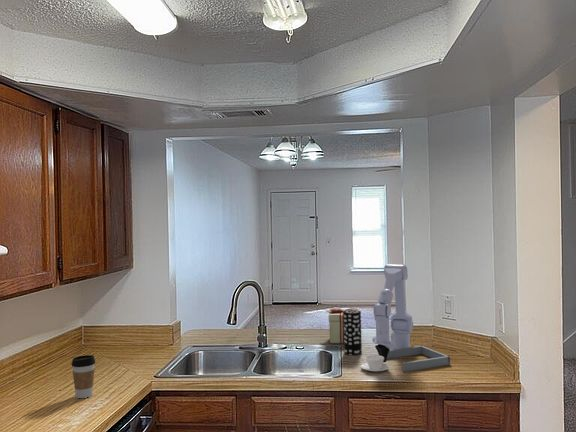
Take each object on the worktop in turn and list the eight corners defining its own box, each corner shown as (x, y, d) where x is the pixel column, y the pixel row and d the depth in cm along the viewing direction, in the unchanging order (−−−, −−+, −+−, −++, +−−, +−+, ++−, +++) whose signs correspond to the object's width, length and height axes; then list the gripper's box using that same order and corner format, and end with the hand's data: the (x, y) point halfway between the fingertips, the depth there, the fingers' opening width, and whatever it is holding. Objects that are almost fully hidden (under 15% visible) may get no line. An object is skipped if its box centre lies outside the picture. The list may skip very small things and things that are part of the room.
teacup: (361, 365, 220) (361, 353, 220) (388, 366, 218) (388, 353, 218) (360, 373, 208) (360, 361, 208) (389, 374, 206) (389, 361, 206)
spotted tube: (363, 351, 241) (362, 310, 241) (358, 356, 233) (358, 313, 233) (347, 350, 244) (346, 309, 244) (342, 354, 237) (341, 312, 237)
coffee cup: (84, 401, 182) (83, 360, 182) (67, 398, 185) (66, 358, 185) (100, 393, 190) (100, 354, 190) (83, 391, 193) (83, 353, 193)
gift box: (356, 335, 274) (356, 304, 274) (360, 344, 255) (359, 310, 255) (325, 335, 274) (325, 304, 274) (327, 344, 256) (326, 311, 256)
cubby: (378, 359, 228) (378, 351, 228) (421, 353, 237) (421, 345, 237) (404, 371, 209) (404, 363, 209) (450, 364, 217) (450, 356, 217)
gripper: (366, 328, 223) (367, 358, 223) (383, 335, 209) (384, 367, 209) (379, 326, 225) (380, 356, 225) (397, 333, 212) (398, 365, 212)
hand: (383, 361), depth 217 cm, fingers closed
